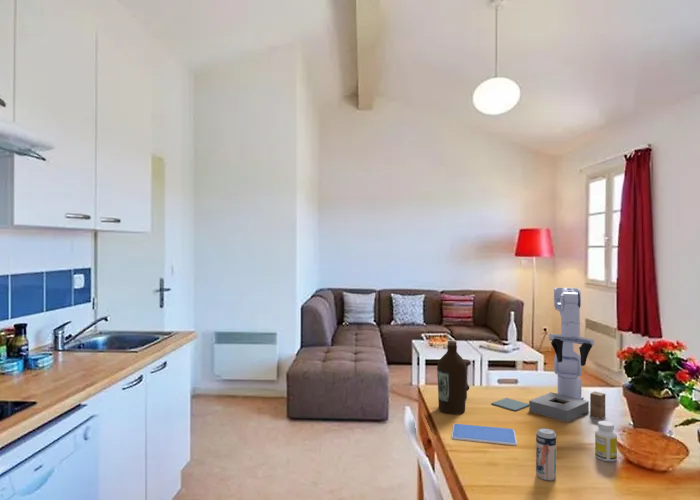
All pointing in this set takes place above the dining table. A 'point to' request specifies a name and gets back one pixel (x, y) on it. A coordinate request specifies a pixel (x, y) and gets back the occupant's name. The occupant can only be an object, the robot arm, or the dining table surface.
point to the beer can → (546, 454)
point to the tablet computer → (484, 434)
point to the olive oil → (452, 381)
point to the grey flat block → (559, 406)
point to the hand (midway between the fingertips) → (571, 363)
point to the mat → (510, 404)
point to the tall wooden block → (597, 405)
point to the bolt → (466, 379)
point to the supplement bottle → (606, 442)
